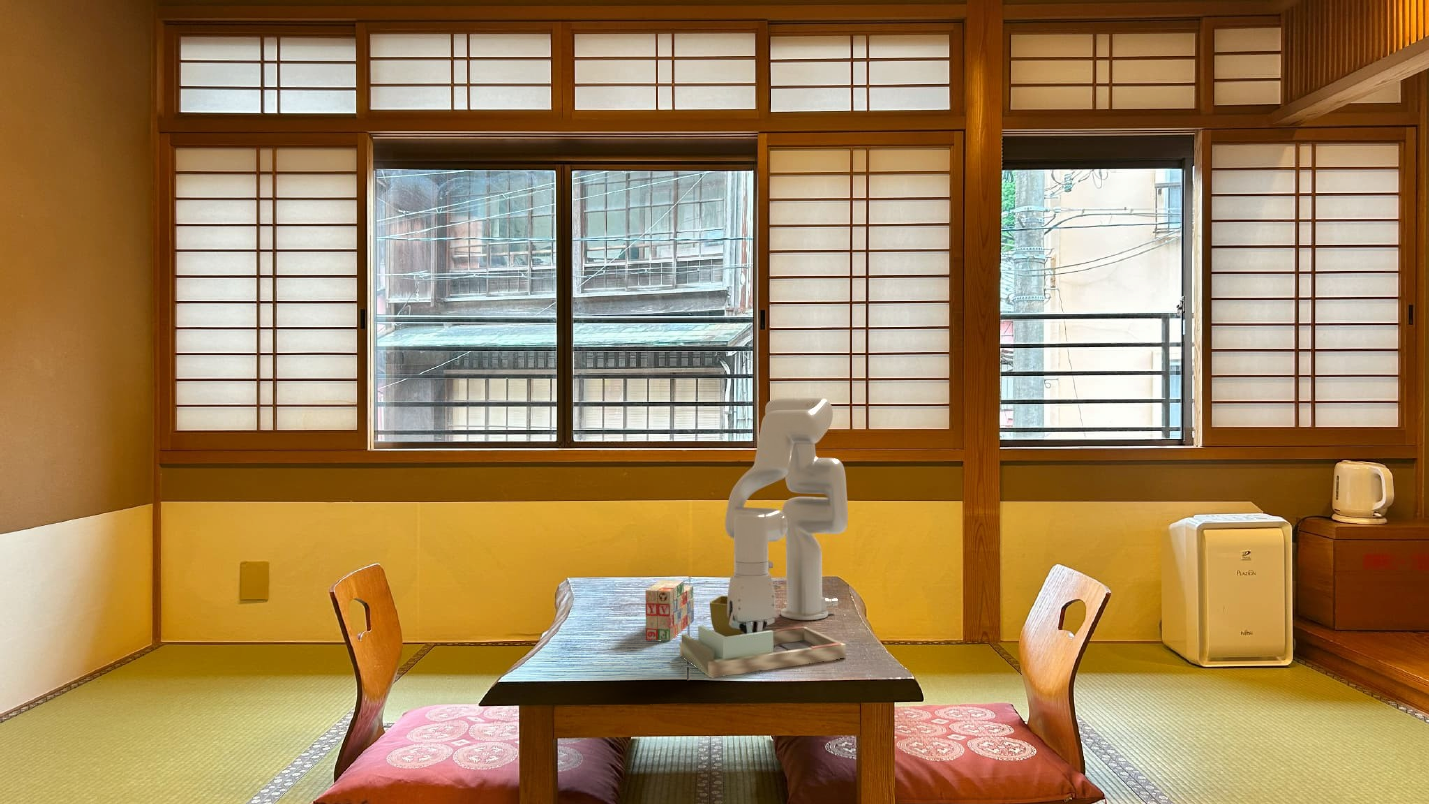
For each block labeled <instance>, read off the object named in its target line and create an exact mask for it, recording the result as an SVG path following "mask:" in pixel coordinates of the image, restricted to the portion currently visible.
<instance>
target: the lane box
mask: <svg viewBox="0 0 1429 804" xmlns="http://www.w3.org/2000/svg"><path fill="white" fill-rule="evenodd" d="M772 631H773V646H780V647H782V648H784V649H786V650H785V651H784V650H783V651H777V652H773V653H768V654H760V655H747V656H741V657H734V658H728V659H716V660H714V652H713V650H711V649H709V648H708V647H706V646H705V645H703V644H701V643H700V642H698V638H697V639H695V638H694V637H692V636H690V635H688V634H687V633H685V634H684V633H683V634H681V641H680V642H679V656H680V657H681V656H682V657H683V658H685V659H686V660H687V661H686V660H685V659H684V660H685V661H686V662H688V661H689V662H690V663H692V664H693V665H695V666H696V667H697V668H698V669H697V668H696V667H695V666H694V667H695V668H696V669H697V670H699V671H700V670H701V671H700V672H702V673H703V672H704V673H705V674H704V673H703V674H704V675H706V676H707V675H708V676H707V677H709V678H710V677H714V678H719V677H720V676H721V677H724V676H723V675H728V676H735V675H740V674H747V673H746V672H748V673H754V672H760V671H759V670H762V671H767V670H774V669H780V668H781V669H782V668H787V667H788V668H790V667H794V666H801V665H809V663H810V664H817V663H823V662H822V661H824V662H830V661H837V660H836V659H838V660H841V659H840V658H844V659H847V644H846V643H843V642H842V641H839V640H836V639H835V638H832V637H830V636H828V635H826V634H823V633H821V632H820V631H819V632H818V631H816V630H815V629H812V628H810V627H807V626H794V627H786V628H777V629H775V630H772ZM727 637H728V636H727ZM682 657H681V658H682ZM683 658H682V659H683ZM689 662H688V663H689ZM690 663H689V664H690ZM692 664H691V665H692ZM693 665H692V666H693Z"/></svg>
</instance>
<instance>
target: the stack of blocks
mask: <svg viewBox="0 0 1429 804" xmlns="http://www.w3.org/2000/svg"><path fill="white" fill-rule="evenodd" d="M694 601H695V599H694V585H684V580H666V579H665V580H664V579H661V580H659V581H657V582H655V583H654V584H653V585H651V586H649V587H648V588H646V589H645V640H646V641H651V640H661V641H660V642H669V641H670V642H671V641H673V640H674V639H675V638H676V637H677V636H679V635H680V634H681V633H682V631H684V630H685V629H686V628H687V627H688V626H689V625H690V624H691V623H693V622H694V621H695V617H694V616H695V612H694V611H695V610H694V609H695V605H694V603H695V602H694ZM686 626H687V627H686ZM685 627H686V628H685ZM683 629H684V630H683ZM679 633H680V634H679ZM678 634H679V635H678ZM676 635H677V636H676ZM673 638H674V639H673Z"/></svg>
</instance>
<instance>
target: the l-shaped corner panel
mask: <svg viewBox="0 0 1429 804" xmlns="http://www.w3.org/2000/svg"><path fill="white" fill-rule="evenodd" d="M773 631H774V630H765V631H764V630H763V631H762V632H756V633H749V634H742V635H735V636H728V637H725V636H723V635H721V634H719V633H717V632H715V631H714V629H711V628H709V627H707V626H704V625H703V624H702V625H700V624H699V625H698V626H697V637H698V638H697V639H698V642H700V643H701V644H703V645H705V646H706V647H708V648H709V649H711V650H713V652H714V660H716V659H728V658H734V657H741V656H747V655H760V654H768V653H774V645H773Z"/></svg>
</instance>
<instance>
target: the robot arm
mask: <svg viewBox="0 0 1429 804" xmlns="http://www.w3.org/2000/svg"><path fill="white" fill-rule="evenodd" d="M764 409H765V410H764V411H765V412H764V413H765V415H763V418H762V420H761V424H760V425H761V426H760V430H759V431H760V432H759V436H758V442H757V445H756V446H757V447H756V454H755V456H754V464H753V465H752V467H751V468H750V469H748V470H747V471H746V472H745V473H744V474H743V475H742V476H741V477H740V478H739V480H738V481H737V482H736V484H735V485H734V486H733V487H732V489H731V492H730V495H729V498H728V503H727V507H726V512H725V518H724V519H725V521H724V525H725V527H724V528H725V531H726V534H727V535H728V536H729V538H730V539H733V546H734V547H733V549H734V550H733V551H734V553H733V556H734V557H733V558H734V560H733V561H734V562H733V563H734V564H733V565H734V574H731V575H730V577H729V578H730V579H729V583H728V590H727V596H728V599H727V616H728V618H730V621H729V626H730V627H732V628H737V629H740V630H741V631H742V632H743V633H744V634H749V633H756V632H763V631H764V630H765V628H766V627H767V626H769V625H772V624H774V623H775V615H776V598H775V597H776V595H775V588H774V587H775V586H774V583H773V578H772V575H771V573H770V569H773V568H774V562H773V561H770V560H769V542H773V543H775V542H778V541H780V540H782V539H783V538H784V537H785V555H786V557H785V559H786V560H785V561H786V563H785V564H786V566H785V567H786V568H785V569H786V572H785V573H786V575H785V576H786V606H785V607H783V608H782V609H781V610H780V614H781V615H780V616H782V617H783V618H785V619H790V620H797V621H813V620H814V621H816V620H823V619H825V618H827V617H828V616H829V610H828V608H829V607H836V606H838V605H839V600H838V598H835V597H834V598H827V597H823V561H822V560H823V558H822V557H823V553H822V547H821V545H820V542H819V541H818V540H817V538H816V537H815V535H814V534H827V535H829V534H830V535H831V534H832V535H838V534H841V533H842V534H843V532H845V531H846V530H847V527H848V522H849V510H848V493H847V492H848V491H847V479H846V477H847V476H846V471H845V467H844V464H843V463H842V461H840V459H837V458H834V457H818V456H817V454H816V445H815V444H817V443H818V442H820V440H822V439H823V437H824V435H825V434H826V433H827V431H828V430H829V429H830V427H831V425H832V422H833V417H834V416H833V415H834V414H833V411H834V410H833V406H832V404H831V403H830V401H829V400H828V399H826V398H823V397H800V398H799V397H789V398H788V397H785V398H784V397H783V398H775V399H771V400H770V401H768V402H767V403H766V405H765V408H764ZM784 478H785V484H786V488H787V489H788V490H789V491H790V492H792V493H796V494H810V495H811V494H815V495H816V494H818V495H826V497H817V496H796V497H795V496H794V497H791V498H788V499H787V500H786V501H785V502H784V504H783V505H782V510H781V509H777V508H768V507H764V508H763V507H745V505H746V502H747V500H748V499H749V498H750V497H751V496H752V495H753V494H754V493H755V492H757V491H759V490H760V489H762V488H765V487H767V486H769V485H771V484H773V483H777V482H778V481H781V480H783V479H784Z"/></svg>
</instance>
